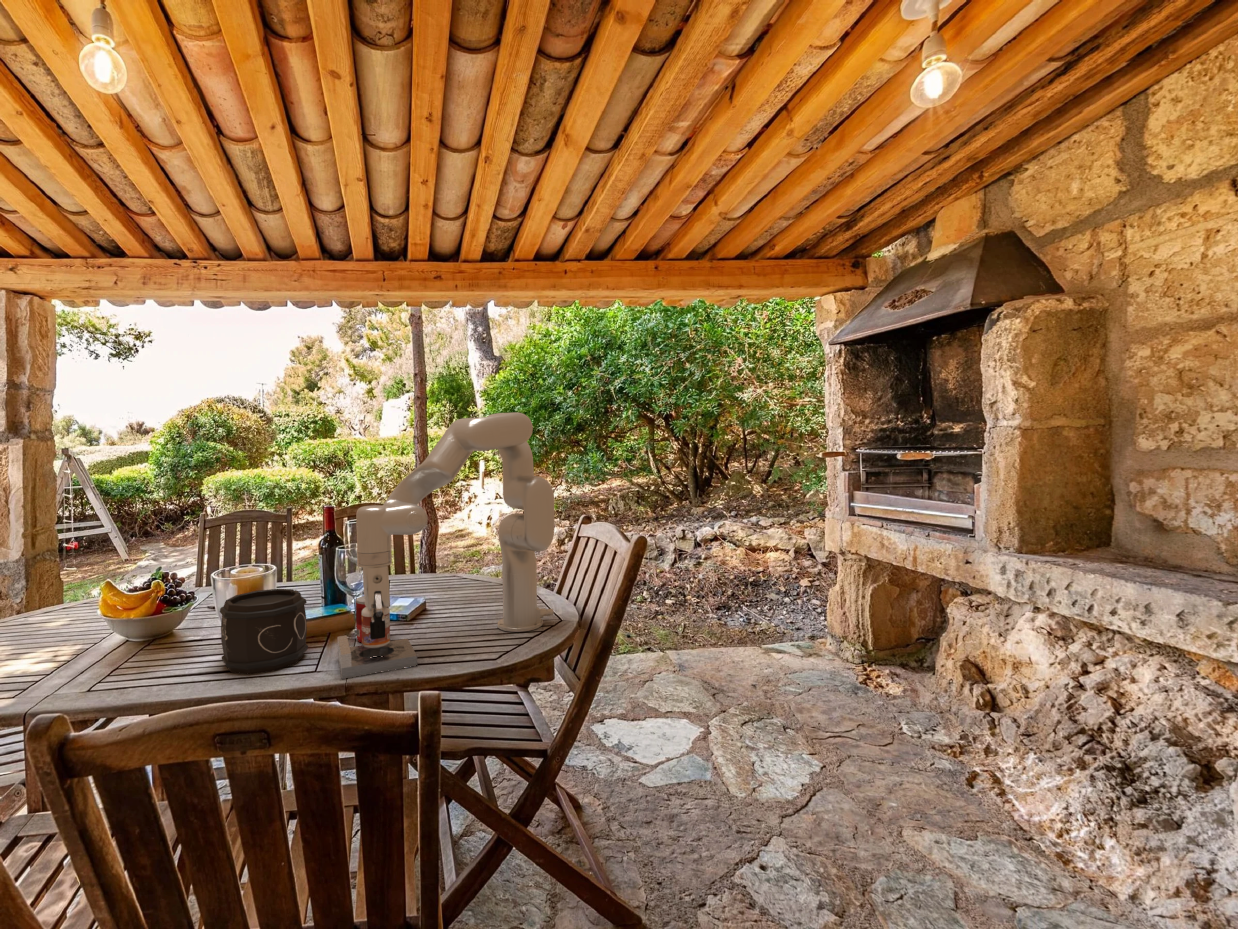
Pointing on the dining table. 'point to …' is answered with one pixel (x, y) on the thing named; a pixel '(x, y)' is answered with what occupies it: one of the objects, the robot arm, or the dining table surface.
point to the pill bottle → (366, 628)
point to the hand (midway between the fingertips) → (376, 633)
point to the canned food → (359, 616)
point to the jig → (360, 663)
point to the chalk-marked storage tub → (263, 630)
